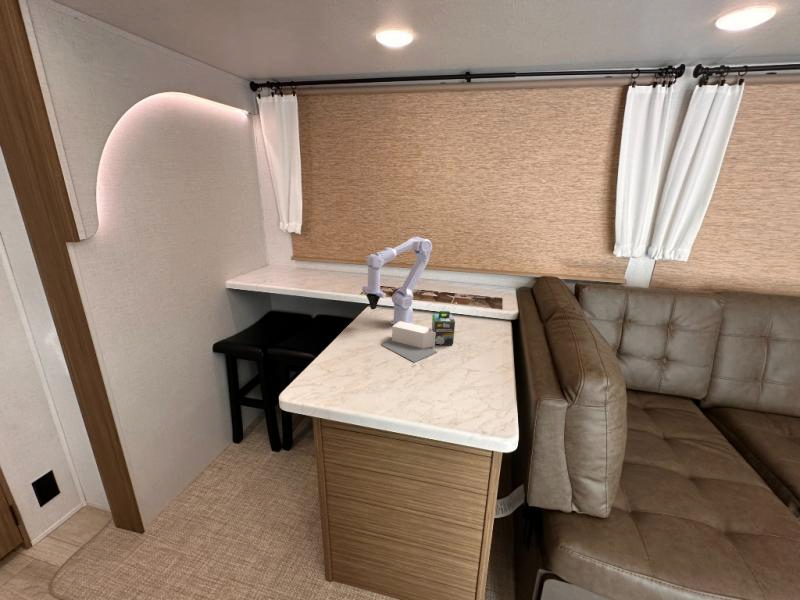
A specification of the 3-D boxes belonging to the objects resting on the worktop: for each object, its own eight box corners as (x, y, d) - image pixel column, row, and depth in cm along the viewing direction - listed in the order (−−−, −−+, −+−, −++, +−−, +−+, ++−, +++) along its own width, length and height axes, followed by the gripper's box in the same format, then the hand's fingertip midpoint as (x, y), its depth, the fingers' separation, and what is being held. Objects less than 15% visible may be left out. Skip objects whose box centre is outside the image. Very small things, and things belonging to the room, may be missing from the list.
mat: (404, 336, 162) (404, 336, 162) (437, 352, 148) (437, 351, 148) (381, 345, 153) (381, 344, 152) (414, 362, 139) (414, 362, 139)
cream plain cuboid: (391, 340, 156) (431, 350, 149) (391, 326, 154) (432, 335, 146) (398, 335, 162) (437, 344, 155) (399, 320, 160) (438, 329, 152)
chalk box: (450, 336, 164) (453, 307, 159) (453, 345, 155) (456, 314, 151) (430, 336, 164) (432, 306, 159) (432, 345, 155) (435, 313, 150)
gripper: (357, 278, 163) (356, 306, 167) (378, 286, 153) (377, 315, 158) (368, 276, 168) (368, 303, 172) (389, 283, 158) (388, 311, 163)
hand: (373, 308), depth 165 cm, fingers closed
